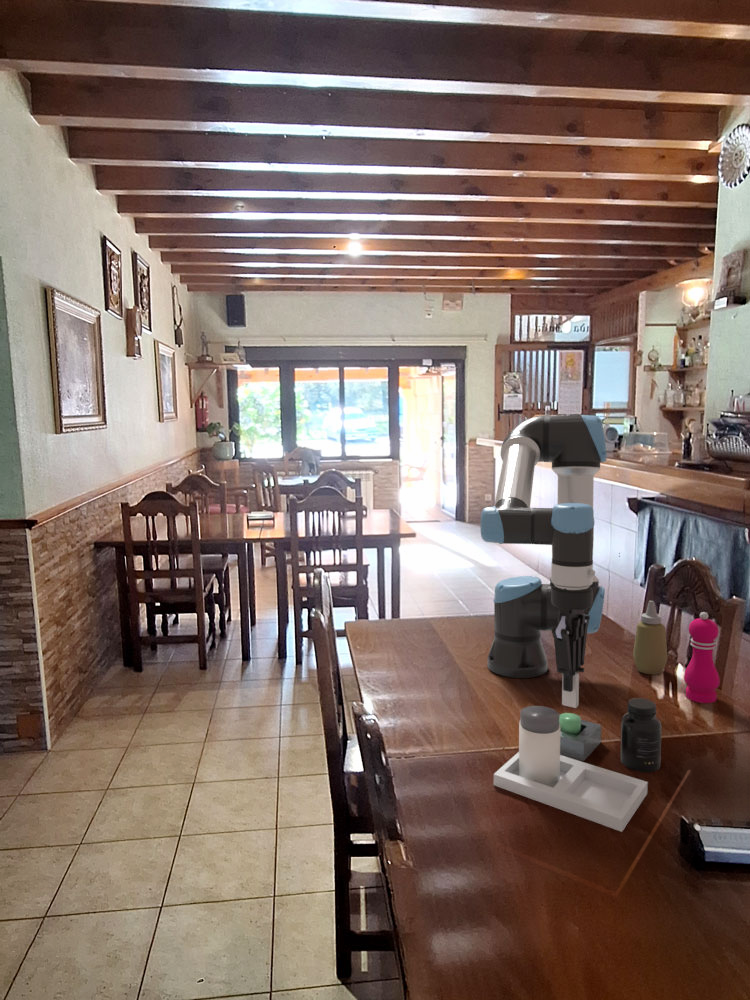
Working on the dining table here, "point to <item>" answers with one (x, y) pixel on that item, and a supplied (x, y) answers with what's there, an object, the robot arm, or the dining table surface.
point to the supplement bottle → (641, 736)
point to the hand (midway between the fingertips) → (570, 705)
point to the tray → (580, 791)
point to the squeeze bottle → (650, 642)
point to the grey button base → (581, 741)
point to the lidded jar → (539, 745)
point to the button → (570, 723)
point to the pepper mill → (702, 661)
